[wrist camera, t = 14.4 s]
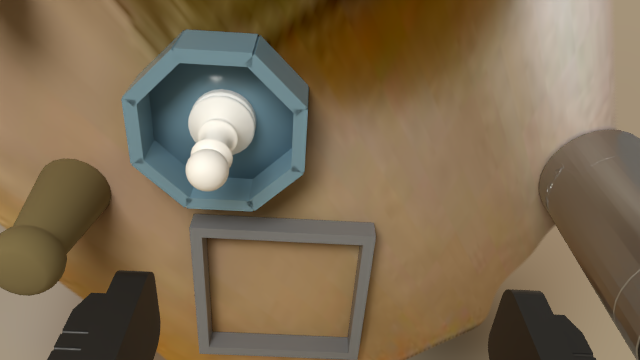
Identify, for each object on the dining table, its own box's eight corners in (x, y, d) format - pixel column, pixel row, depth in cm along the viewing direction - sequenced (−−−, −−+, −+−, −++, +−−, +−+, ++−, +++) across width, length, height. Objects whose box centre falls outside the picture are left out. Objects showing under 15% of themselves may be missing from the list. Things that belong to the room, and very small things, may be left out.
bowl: (311, 37, 40) (310, 56, 37) (303, 186, 47) (301, 214, 44) (131, 26, 39) (113, 44, 36) (149, 178, 46) (136, 205, 43)
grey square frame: (373, 222, 49) (375, 236, 47) (356, 344, 58) (357, 359, 56) (193, 213, 48) (189, 227, 47) (203, 337, 57) (199, 353, 55)
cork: (121, 179, 46) (72, 266, 37) (97, 227, 49) (45, 319, 40) (50, 146, 45) (-19, 229, 36) (29, 198, 48) (-40, 287, 38)
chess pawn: (216, 156, 44) (194, 223, 37) (178, 106, 42) (147, 168, 34) (269, 129, 43) (258, 194, 35) (233, 76, 41) (213, 133, 33)
